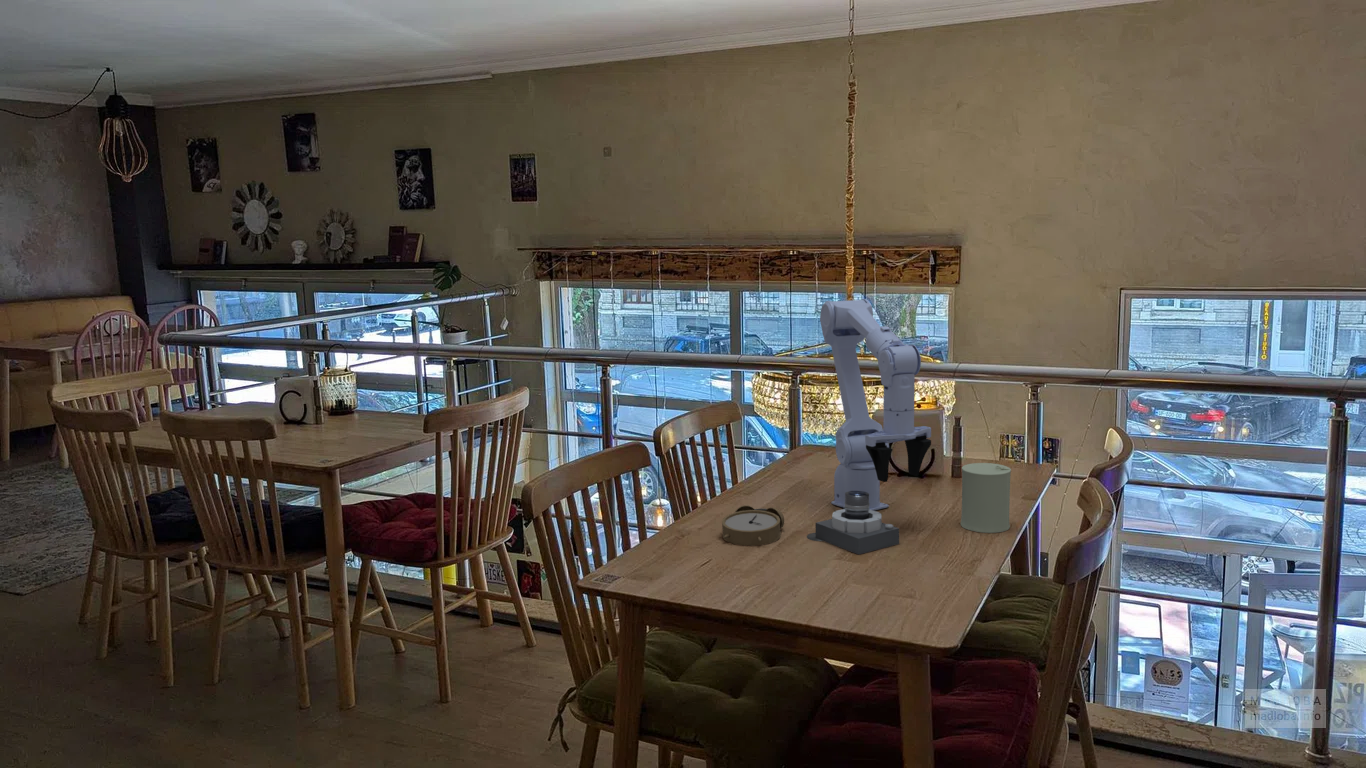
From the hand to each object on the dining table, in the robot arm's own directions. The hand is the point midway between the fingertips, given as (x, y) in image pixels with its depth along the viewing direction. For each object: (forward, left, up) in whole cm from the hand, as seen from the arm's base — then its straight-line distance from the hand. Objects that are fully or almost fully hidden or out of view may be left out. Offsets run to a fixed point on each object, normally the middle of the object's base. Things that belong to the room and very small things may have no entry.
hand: (898, 477), depth 187 cm
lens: (0, -11, -7) cm, 13 cm away
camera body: (+1, -11, -10) cm, 15 cm away
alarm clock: (-15, -24, -11) cm, 30 cm away
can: (+9, +15, -11) cm, 20 cm away
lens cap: (-5, -15, -11) cm, 19 cm away
